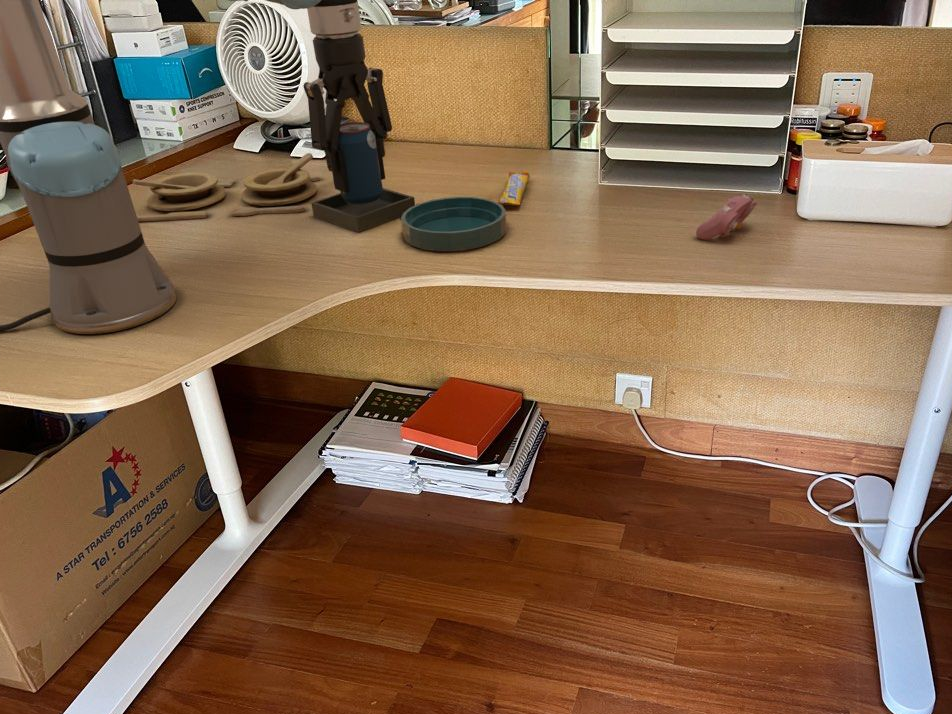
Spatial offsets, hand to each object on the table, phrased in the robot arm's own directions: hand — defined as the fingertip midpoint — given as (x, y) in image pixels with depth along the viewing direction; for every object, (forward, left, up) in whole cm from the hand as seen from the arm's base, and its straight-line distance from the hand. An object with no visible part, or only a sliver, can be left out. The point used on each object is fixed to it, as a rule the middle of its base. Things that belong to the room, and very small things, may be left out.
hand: (360, 183), depth 139 cm
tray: (0, 0, -5) cm, 5 cm away
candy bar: (+22, -14, -5) cm, 27 cm away
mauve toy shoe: (+28, -53, -5) cm, 60 cm away
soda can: (0, 0, -3) cm, 3 cm away
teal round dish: (+3, -19, -5) cm, 20 cm away
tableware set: (-9, +26, -5) cm, 28 cm away
